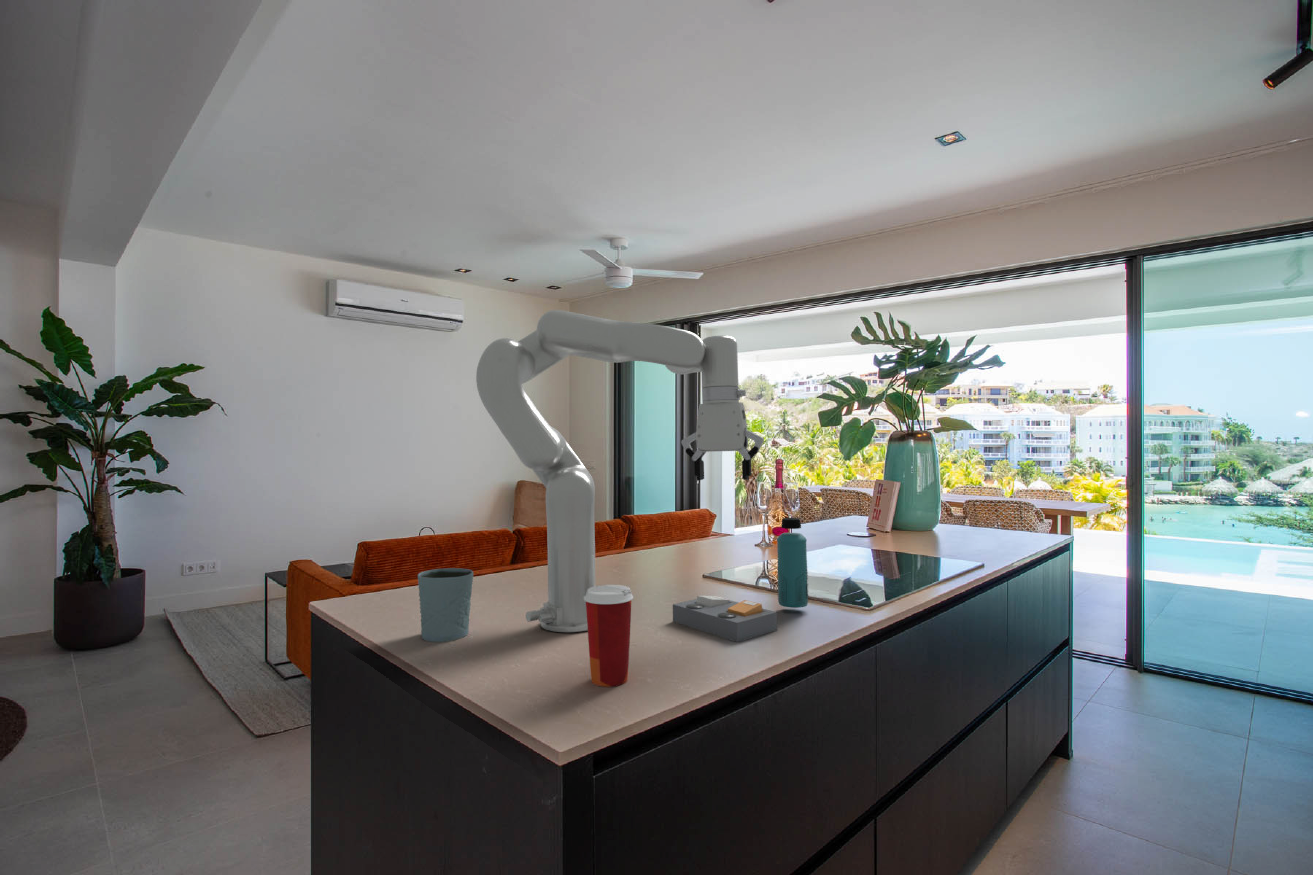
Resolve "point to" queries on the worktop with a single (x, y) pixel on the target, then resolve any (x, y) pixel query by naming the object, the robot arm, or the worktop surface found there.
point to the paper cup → (609, 633)
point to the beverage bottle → (792, 566)
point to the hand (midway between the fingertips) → (722, 479)
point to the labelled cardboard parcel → (746, 608)
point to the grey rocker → (711, 601)
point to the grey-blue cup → (445, 603)
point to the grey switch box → (724, 620)
